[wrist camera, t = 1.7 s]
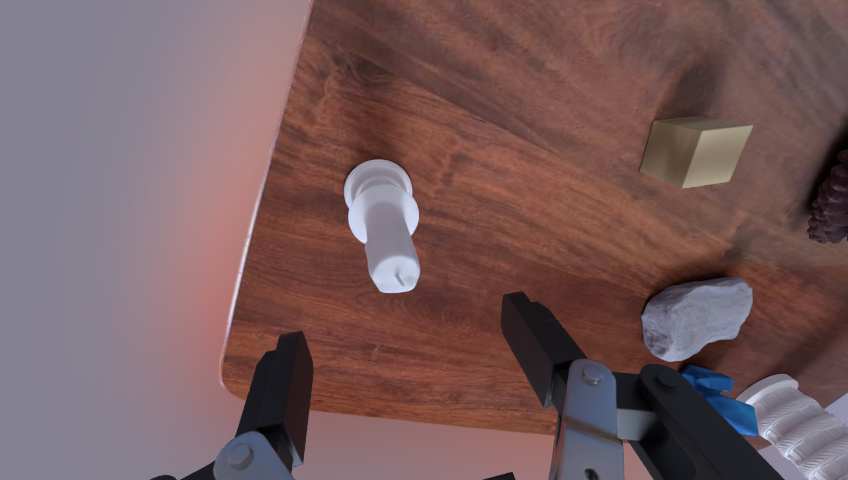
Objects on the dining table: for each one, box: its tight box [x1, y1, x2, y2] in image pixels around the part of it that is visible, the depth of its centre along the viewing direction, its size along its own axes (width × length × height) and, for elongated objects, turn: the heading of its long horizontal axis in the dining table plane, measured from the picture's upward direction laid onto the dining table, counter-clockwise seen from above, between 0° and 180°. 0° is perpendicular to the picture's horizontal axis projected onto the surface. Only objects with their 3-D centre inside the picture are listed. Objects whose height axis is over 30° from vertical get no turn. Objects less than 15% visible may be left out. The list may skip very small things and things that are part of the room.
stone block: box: [641, 277, 753, 362], centre depth 40 cm, size 12×5×10 cm
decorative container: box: [735, 374, 848, 480], centre depth 51 cm, size 12×12×18 cm
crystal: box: [680, 365, 759, 436], centre depth 47 cm, size 7×9×12 cm
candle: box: [344, 159, 420, 293], centre depth 21 cm, size 5×5×12 cm
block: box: [639, 116, 753, 188], centre depth 27 cm, size 4×4×4 cm
